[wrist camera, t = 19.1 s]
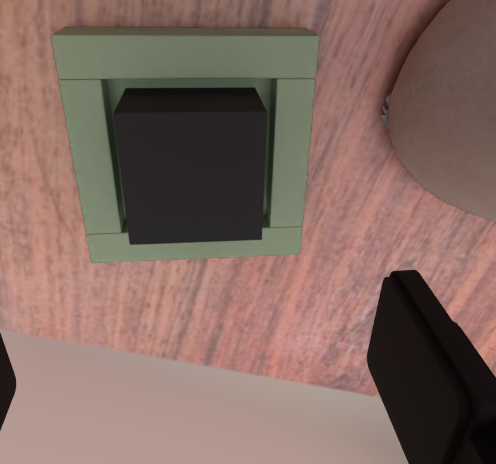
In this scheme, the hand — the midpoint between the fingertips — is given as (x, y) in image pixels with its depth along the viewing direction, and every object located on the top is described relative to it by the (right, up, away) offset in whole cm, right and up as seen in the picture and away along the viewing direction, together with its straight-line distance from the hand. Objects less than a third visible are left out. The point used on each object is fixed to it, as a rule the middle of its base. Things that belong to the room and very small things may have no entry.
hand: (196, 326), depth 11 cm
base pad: (-2, +7, +13) cm, 15 cm away
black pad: (-1, +6, +12) cm, 14 cm away
